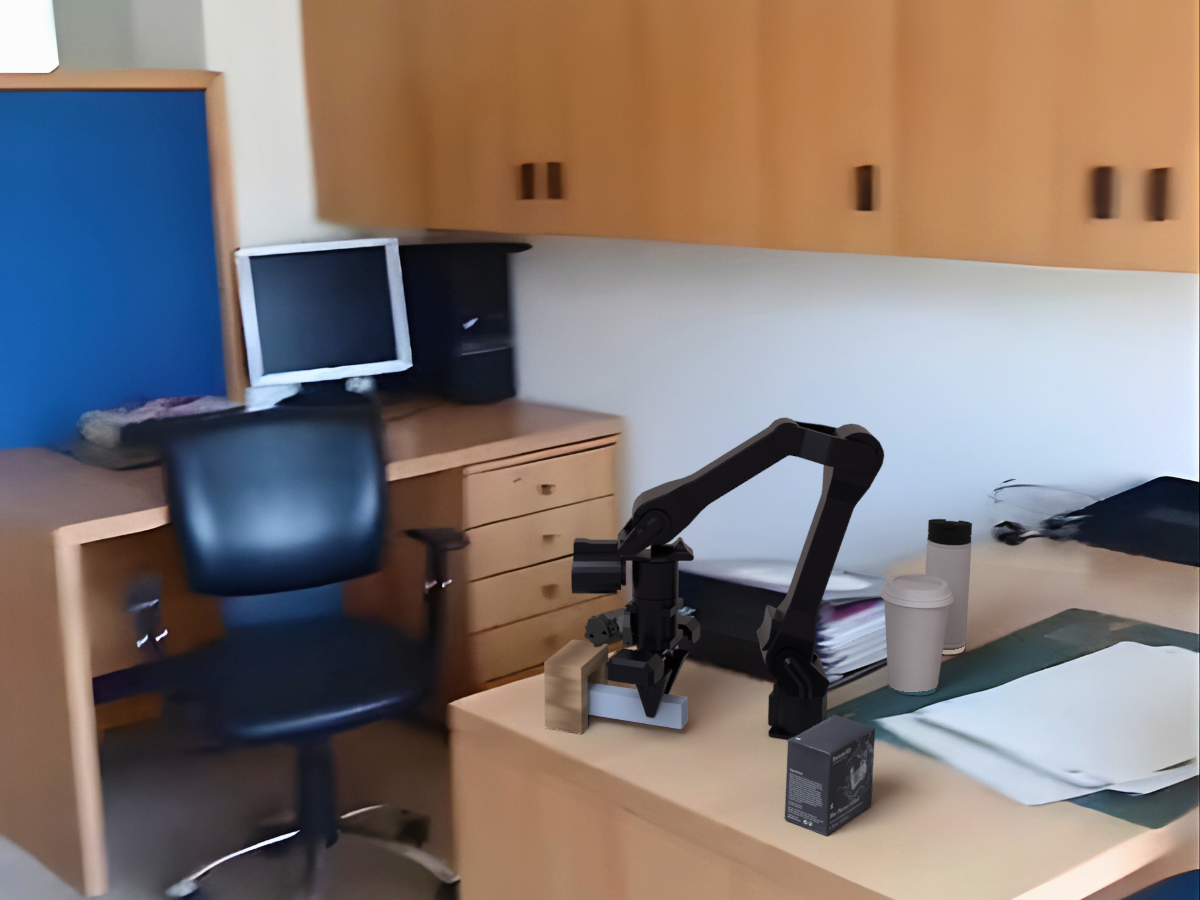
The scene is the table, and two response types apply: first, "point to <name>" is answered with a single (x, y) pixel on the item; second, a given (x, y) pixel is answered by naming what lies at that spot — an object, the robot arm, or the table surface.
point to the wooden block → (572, 684)
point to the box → (829, 774)
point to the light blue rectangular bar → (635, 706)
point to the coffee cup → (915, 629)
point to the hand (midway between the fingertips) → (654, 712)
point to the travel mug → (951, 572)
